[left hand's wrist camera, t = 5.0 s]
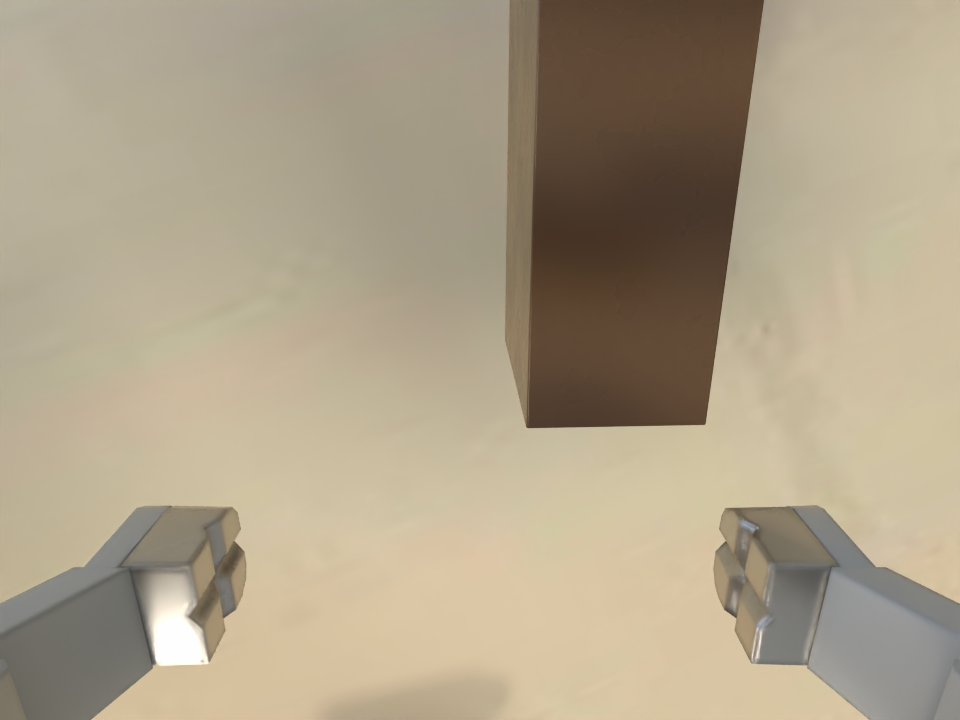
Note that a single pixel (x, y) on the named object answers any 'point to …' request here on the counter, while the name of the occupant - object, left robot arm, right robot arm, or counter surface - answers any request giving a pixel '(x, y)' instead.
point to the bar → (622, 203)
